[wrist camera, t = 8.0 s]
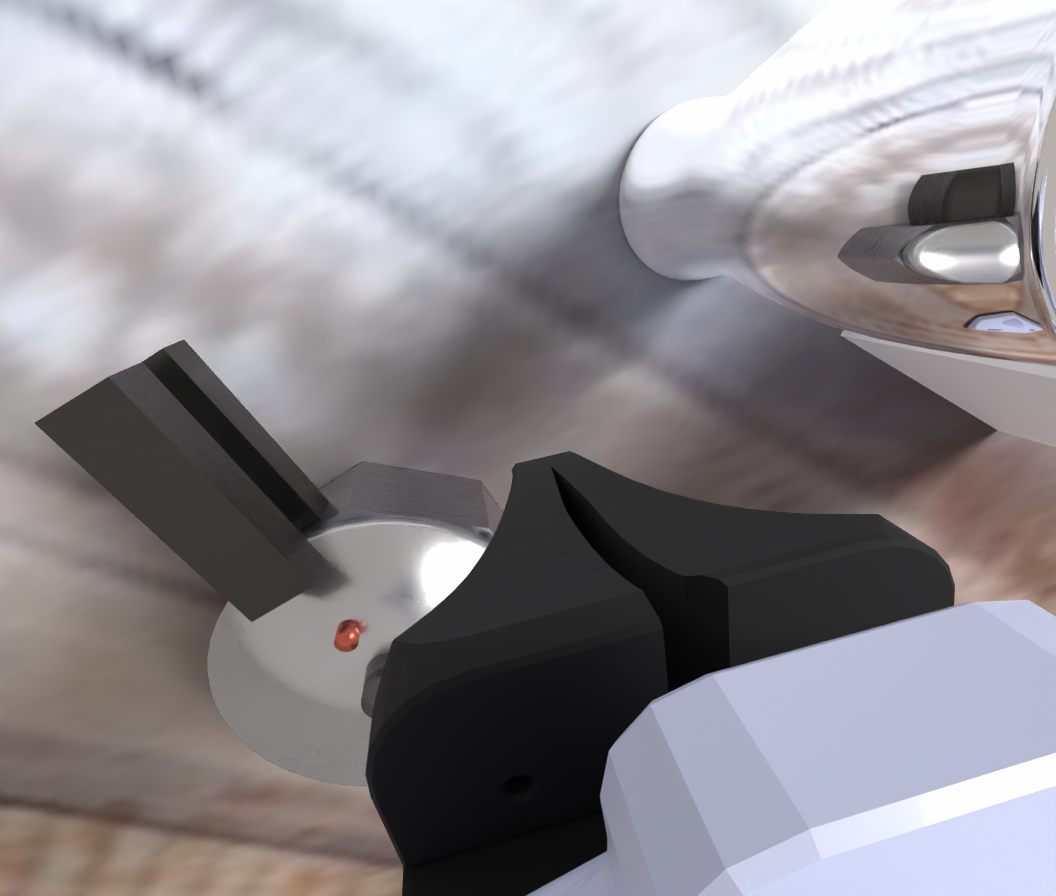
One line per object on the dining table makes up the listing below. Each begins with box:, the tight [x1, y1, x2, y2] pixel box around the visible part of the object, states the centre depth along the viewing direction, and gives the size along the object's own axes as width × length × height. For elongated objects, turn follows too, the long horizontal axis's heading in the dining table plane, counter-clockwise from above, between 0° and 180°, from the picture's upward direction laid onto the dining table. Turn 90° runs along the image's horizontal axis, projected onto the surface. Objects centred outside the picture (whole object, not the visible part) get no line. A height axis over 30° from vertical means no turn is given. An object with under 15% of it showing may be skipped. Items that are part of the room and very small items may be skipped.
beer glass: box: [619, 0, 1056, 367], centre depth 13 cm, size 7×7×15 cm
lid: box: [35, 362, 490, 786], centre depth 18 cm, size 19×12×2 cm, turn 29°
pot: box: [143, 340, 503, 602], centre depth 21 cm, size 21×12×4 cm, turn 30°
